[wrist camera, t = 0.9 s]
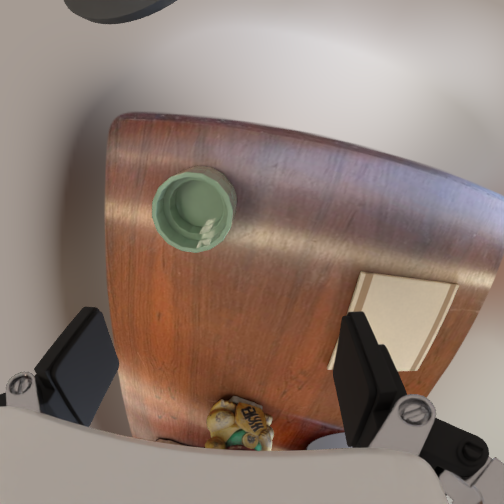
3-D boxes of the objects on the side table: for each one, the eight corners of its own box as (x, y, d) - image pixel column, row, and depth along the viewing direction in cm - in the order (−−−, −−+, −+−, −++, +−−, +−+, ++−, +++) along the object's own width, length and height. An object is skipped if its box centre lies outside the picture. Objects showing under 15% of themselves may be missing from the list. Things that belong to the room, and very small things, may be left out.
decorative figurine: (282, 405, 40) (284, 497, 26) (258, 431, 43) (254, 513, 29) (218, 386, 38) (202, 482, 25) (200, 415, 41) (184, 499, 28)
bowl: (170, 162, 27) (153, 169, 23) (241, 170, 27) (236, 177, 23) (166, 229, 30) (151, 246, 26) (232, 238, 30) (227, 257, 26)
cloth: (360, 271, 31) (361, 272, 30) (457, 283, 31) (459, 285, 31) (326, 367, 36) (327, 369, 36) (416, 368, 37) (417, 370, 36)
